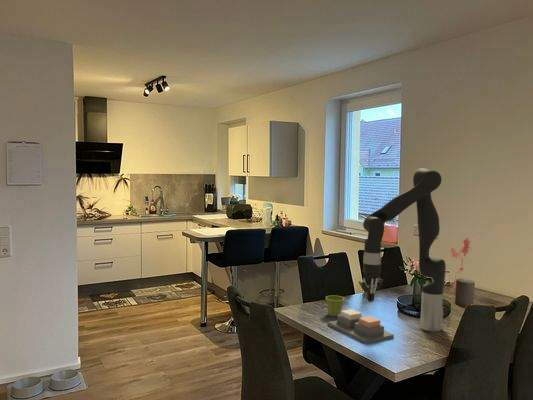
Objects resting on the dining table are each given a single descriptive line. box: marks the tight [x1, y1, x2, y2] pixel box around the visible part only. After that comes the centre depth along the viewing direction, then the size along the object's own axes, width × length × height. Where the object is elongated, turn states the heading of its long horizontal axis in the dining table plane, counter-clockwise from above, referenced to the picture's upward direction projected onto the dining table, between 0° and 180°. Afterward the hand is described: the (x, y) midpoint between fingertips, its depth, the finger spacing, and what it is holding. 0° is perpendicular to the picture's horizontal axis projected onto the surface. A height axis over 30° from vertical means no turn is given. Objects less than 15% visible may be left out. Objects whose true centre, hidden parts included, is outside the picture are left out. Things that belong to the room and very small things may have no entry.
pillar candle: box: [454, 277, 476, 307], centre depth 250 cm, size 10×10×15 cm
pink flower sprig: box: [446, 236, 473, 294], centre depth 274 cm, size 15×26×35 cm, turn 139°
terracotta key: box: [358, 315, 381, 328], centre depth 197 cm, size 7×7×3 cm
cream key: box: [340, 309, 362, 320], centre depth 207 cm, size 7×7×3 cm
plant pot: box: [325, 294, 345, 317], centre depth 225 cm, size 9×9×9 cm
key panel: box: [327, 314, 395, 345], centre depth 202 cm, size 16×26×5 cm, turn 30°
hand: (370, 301), depth 197 cm, fingers closed
